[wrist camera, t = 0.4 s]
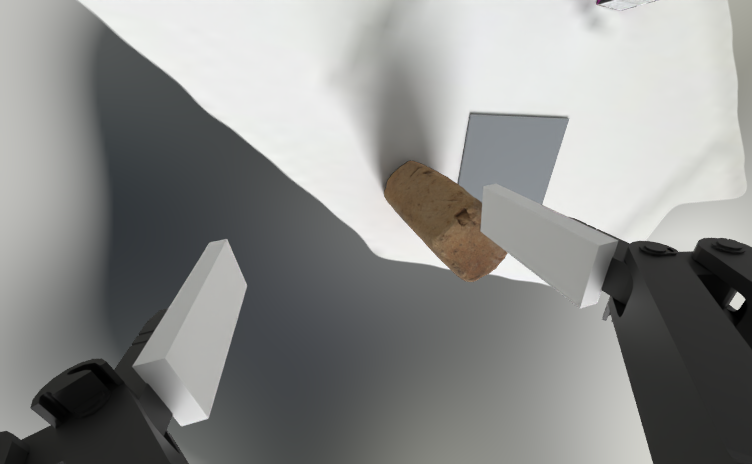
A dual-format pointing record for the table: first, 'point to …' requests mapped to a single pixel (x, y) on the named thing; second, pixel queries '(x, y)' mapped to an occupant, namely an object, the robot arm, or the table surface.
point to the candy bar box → (622, 3)
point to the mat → (511, 154)
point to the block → (444, 219)
